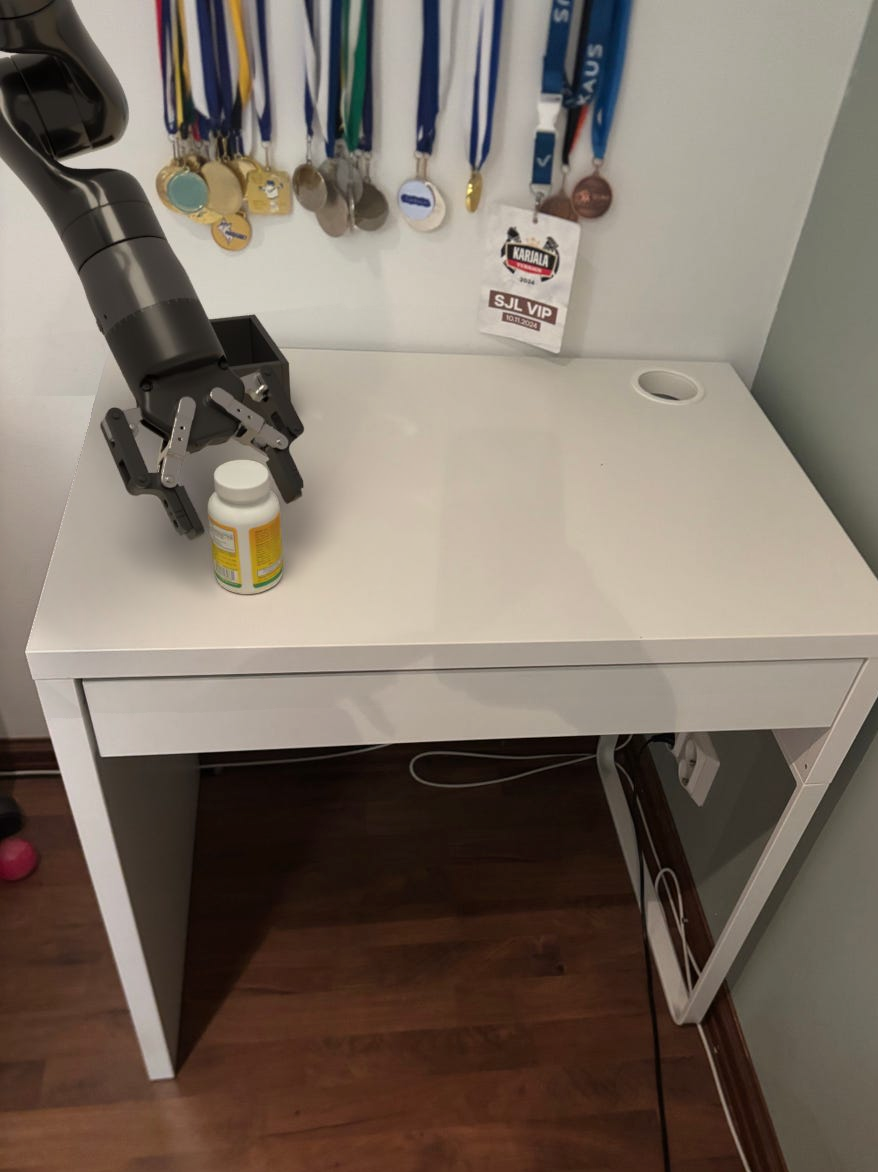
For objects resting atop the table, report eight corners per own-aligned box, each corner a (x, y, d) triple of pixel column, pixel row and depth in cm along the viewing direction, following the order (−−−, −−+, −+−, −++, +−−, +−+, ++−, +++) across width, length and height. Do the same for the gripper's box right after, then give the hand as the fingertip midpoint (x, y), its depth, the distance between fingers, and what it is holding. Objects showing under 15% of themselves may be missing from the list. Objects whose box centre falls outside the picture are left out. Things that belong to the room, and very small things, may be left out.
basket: (176, 440, 91) (167, 378, 87) (150, 386, 98) (141, 326, 94) (292, 423, 95) (289, 362, 91) (259, 372, 103) (254, 314, 98)
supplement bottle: (212, 596, 75) (199, 493, 68) (218, 555, 79) (205, 453, 72) (283, 596, 75) (276, 493, 69) (284, 555, 79) (278, 454, 73)
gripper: (68, 318, 64) (176, 538, 66) (252, 276, 72) (344, 475, 74) (50, 361, 70) (149, 561, 72) (221, 319, 78) (307, 501, 80)
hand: (247, 517), depth 73 cm, fingers open, 8 cm apart
